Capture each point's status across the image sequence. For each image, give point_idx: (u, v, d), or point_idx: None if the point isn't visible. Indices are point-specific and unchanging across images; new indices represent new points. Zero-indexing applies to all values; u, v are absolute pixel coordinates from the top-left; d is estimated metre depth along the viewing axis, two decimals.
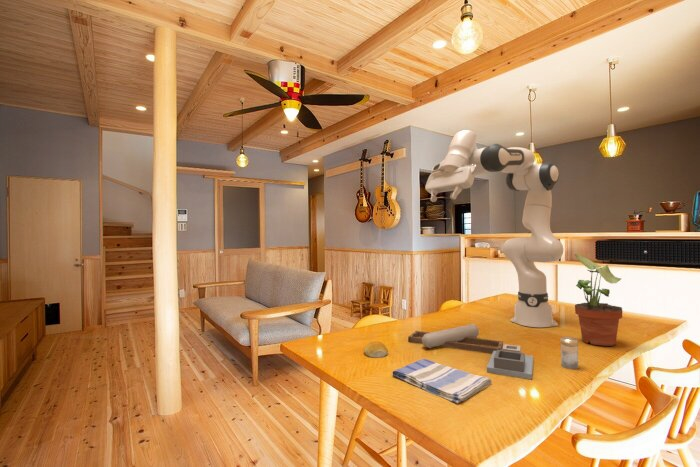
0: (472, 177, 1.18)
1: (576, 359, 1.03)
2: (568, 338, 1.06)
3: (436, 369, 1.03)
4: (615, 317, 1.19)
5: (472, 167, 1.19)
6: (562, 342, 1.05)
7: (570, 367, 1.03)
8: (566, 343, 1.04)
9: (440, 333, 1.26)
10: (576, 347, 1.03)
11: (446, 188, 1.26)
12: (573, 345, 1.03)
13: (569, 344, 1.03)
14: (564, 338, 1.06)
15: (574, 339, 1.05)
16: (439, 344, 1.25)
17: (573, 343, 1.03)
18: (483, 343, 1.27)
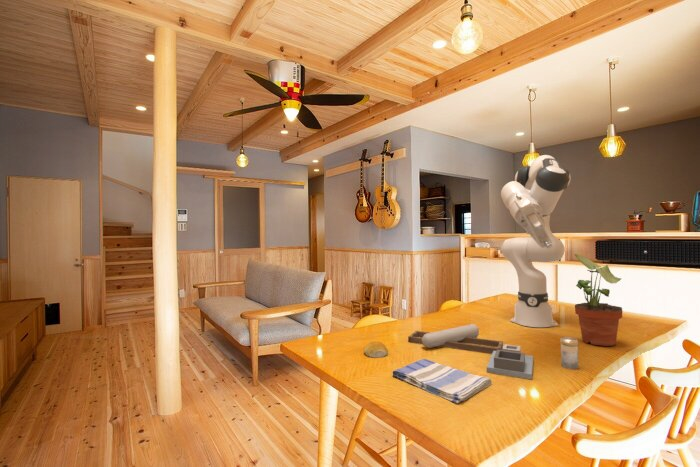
0: (524, 200, 1.07)
1: (576, 359, 1.03)
2: (568, 338, 1.06)
3: (436, 369, 1.03)
4: (615, 317, 1.19)
5: (517, 197, 1.10)
6: (562, 342, 1.05)
7: (570, 367, 1.03)
8: (566, 343, 1.04)
9: (440, 333, 1.26)
10: (576, 347, 1.03)
11: None
12: (573, 345, 1.03)
13: (569, 344, 1.03)
14: (564, 338, 1.06)
15: (574, 339, 1.05)
16: (439, 344, 1.25)
17: (573, 343, 1.03)
18: (483, 343, 1.27)
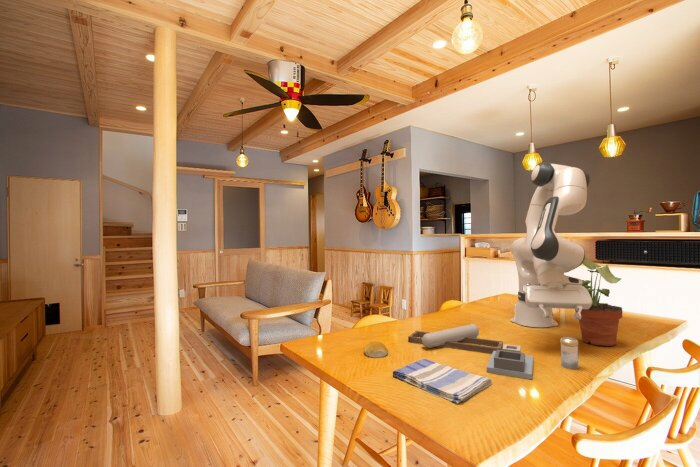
0: (526, 295, 1.22)
1: (576, 359, 1.03)
2: (568, 338, 1.06)
3: (437, 370, 1.03)
4: (615, 317, 1.19)
5: None
6: (562, 342, 1.05)
7: (570, 367, 1.03)
8: (566, 343, 1.04)
9: (440, 333, 1.26)
10: (576, 347, 1.03)
11: None
12: (573, 345, 1.03)
13: (569, 344, 1.03)
14: (564, 338, 1.06)
15: (574, 339, 1.05)
16: (439, 344, 1.25)
17: (573, 343, 1.03)
18: (483, 343, 1.27)
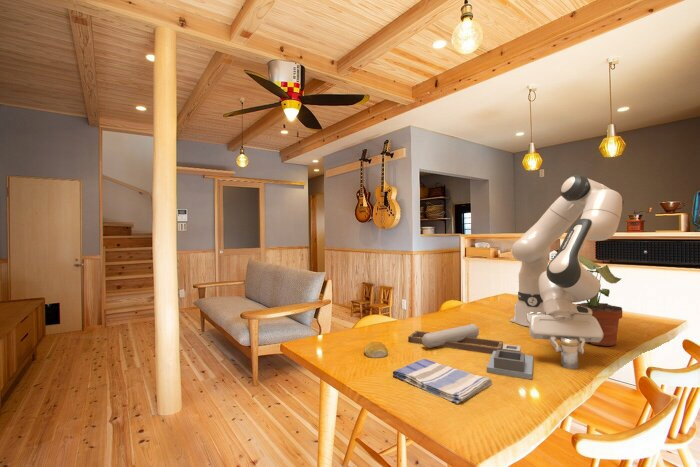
0: (530, 325, 1.13)
1: (576, 359, 1.03)
2: (568, 338, 1.06)
3: (437, 370, 1.03)
4: (615, 317, 1.19)
5: None
6: (562, 342, 1.05)
7: (570, 367, 1.03)
8: (566, 343, 1.04)
9: (440, 333, 1.26)
10: (576, 347, 1.03)
11: None
12: (573, 345, 1.03)
13: (569, 344, 1.03)
14: (564, 338, 1.06)
15: (574, 339, 1.05)
16: (439, 344, 1.25)
17: (573, 343, 1.03)
18: (483, 343, 1.27)
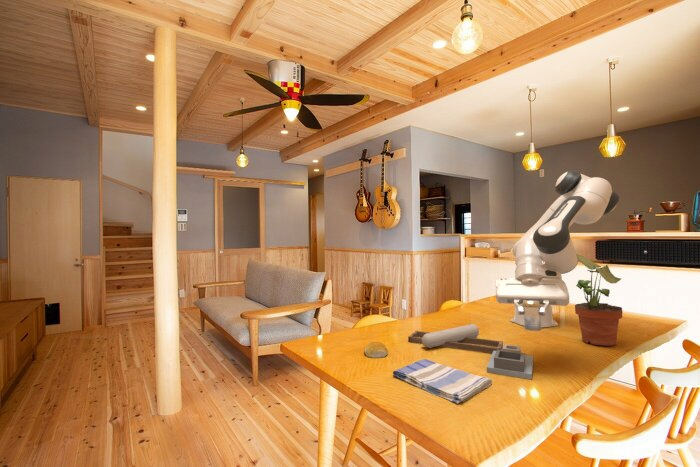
0: None
1: (537, 320, 1.00)
2: (530, 300, 1.03)
3: (437, 370, 1.03)
4: (615, 317, 1.19)
5: None
6: (523, 303, 1.03)
7: (530, 328, 1.01)
8: (526, 304, 1.02)
9: (440, 333, 1.26)
10: (536, 308, 1.01)
11: None
12: (532, 305, 1.01)
13: (528, 304, 1.01)
14: (526, 300, 1.04)
15: (536, 300, 1.02)
16: (439, 344, 1.25)
17: (532, 303, 1.01)
18: (483, 343, 1.27)
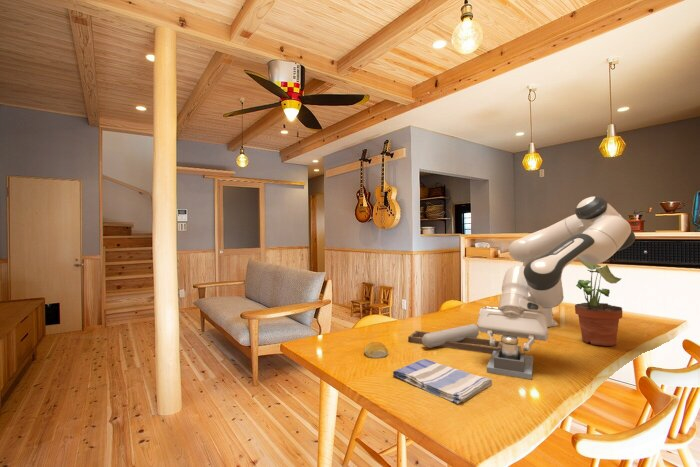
0: None
1: (513, 358, 1.02)
2: (509, 336, 1.04)
3: (437, 370, 1.03)
4: (615, 317, 1.19)
5: None
6: (501, 340, 1.04)
7: None
8: (503, 341, 1.03)
9: (440, 333, 1.26)
10: (513, 346, 1.02)
11: None
12: (509, 343, 1.02)
13: (505, 342, 1.02)
14: (505, 336, 1.05)
15: (514, 338, 1.03)
16: (439, 344, 1.25)
17: (509, 341, 1.02)
18: (483, 343, 1.27)
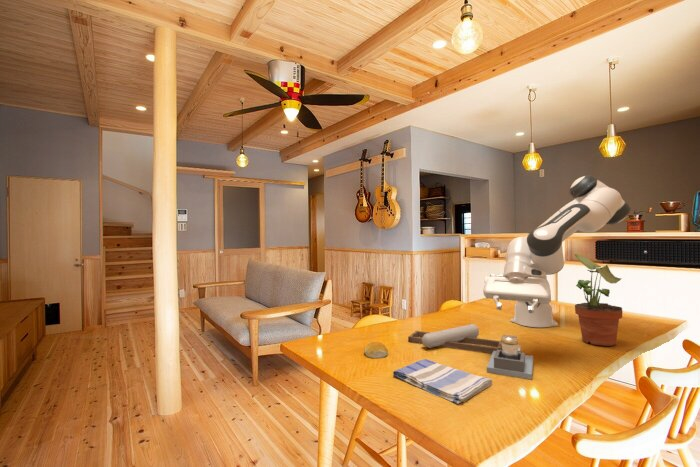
0: None
1: (513, 358, 1.02)
2: (509, 336, 1.04)
3: (437, 370, 1.03)
4: (615, 317, 1.19)
5: None
6: (501, 340, 1.04)
7: None
8: (503, 341, 1.03)
9: (440, 333, 1.26)
10: (513, 346, 1.02)
11: None
12: (509, 343, 1.02)
13: (505, 342, 1.02)
14: (505, 336, 1.05)
15: (514, 338, 1.03)
16: (439, 344, 1.25)
17: (509, 341, 1.02)
18: (483, 343, 1.27)
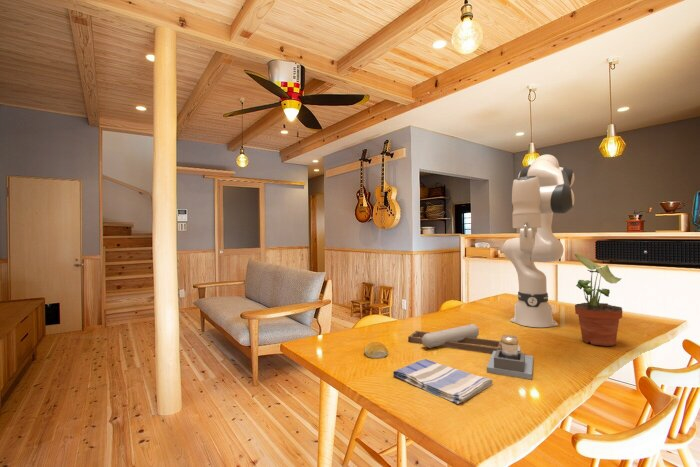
0: (527, 240, 1.08)
1: (513, 358, 1.02)
2: (509, 336, 1.04)
3: (437, 370, 1.03)
4: (615, 317, 1.19)
5: (524, 228, 1.09)
6: (501, 340, 1.04)
7: None
8: (503, 341, 1.03)
9: (440, 333, 1.26)
10: (513, 346, 1.02)
11: None
12: (509, 343, 1.02)
13: (505, 342, 1.02)
14: (505, 336, 1.05)
15: (514, 338, 1.03)
16: (439, 344, 1.25)
17: (509, 341, 1.02)
18: (483, 343, 1.27)
